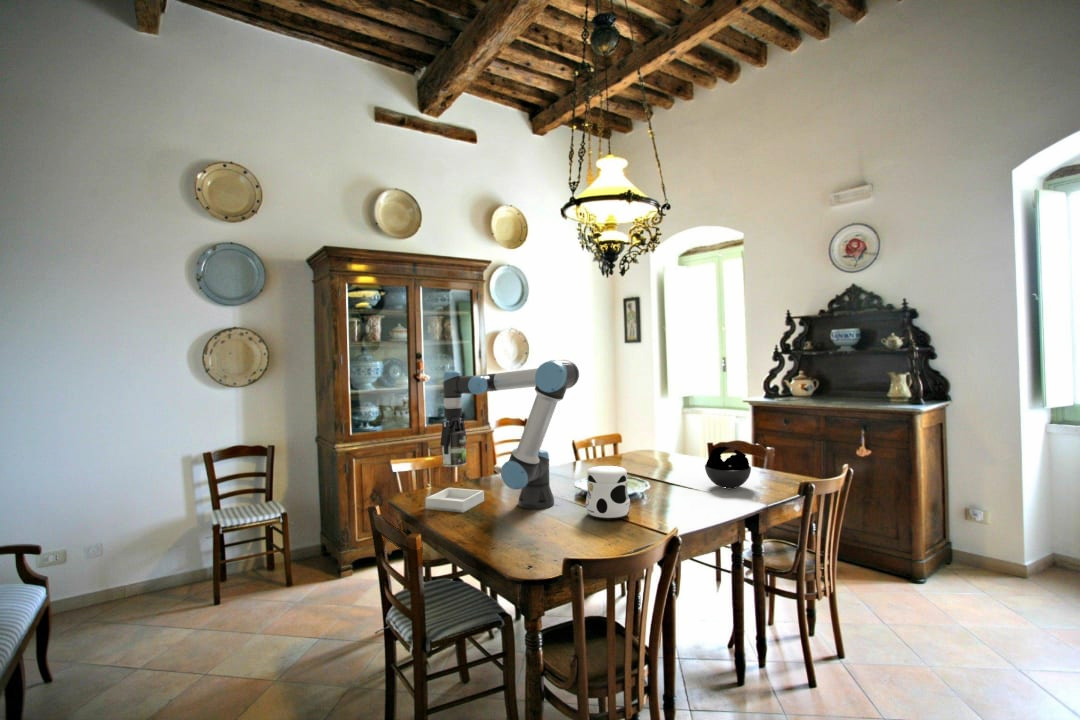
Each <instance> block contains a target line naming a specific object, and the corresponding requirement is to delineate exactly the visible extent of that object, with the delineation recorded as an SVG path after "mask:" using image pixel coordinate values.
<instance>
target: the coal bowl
mask: <svg viewBox="0 0 1080 720" xmlns="http://www.w3.org/2000/svg"><path fill="white" fill-rule="evenodd" d="M729 449H730V446H729V447H728V446H727V447H726V446H724V445H723V446H716V447H715V448H713V449H712V451H710V455H709V456H708V458H707V461H706V463H705V465H704V470H705V473H706V475H707V477H708V479H709V480H710V481H711V482H712V483H713V484H715V485H716V486H718V487H720V488H722V487H726V488H725V489H727V488H731V489H736V488H738V487H741V486H742V485H743V484H745V483H746V482H747V481H748V479H749V477H750V475H751V471H752V468H751V466H750V462H749V459H748V457H746V456H747V454H746V453H744V452H742V451H740V450H738V449H734V450H733V451H734V453H735V454H731V455H730V456H729V457H727V458H725V460H723V459H722V454H723V453H724V452H725V451H727V450H729ZM735 487H736V488H735Z"/></svg>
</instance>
